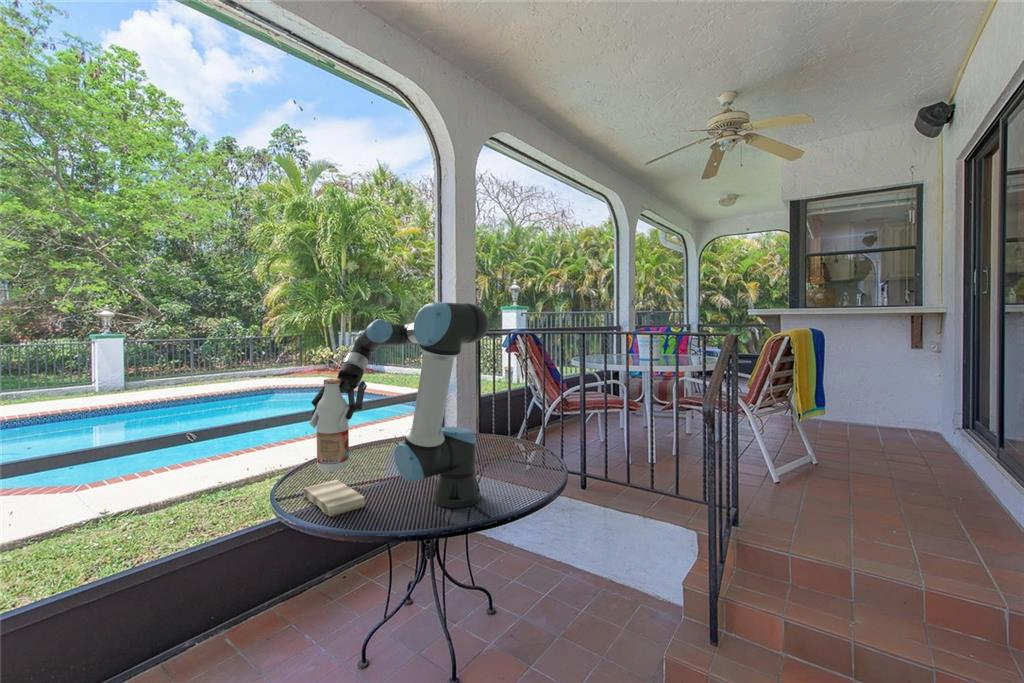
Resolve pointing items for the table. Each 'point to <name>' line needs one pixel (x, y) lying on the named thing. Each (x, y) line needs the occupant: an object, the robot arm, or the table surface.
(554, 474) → the table surface
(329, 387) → the fruit juice
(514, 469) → the table surface
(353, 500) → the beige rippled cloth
